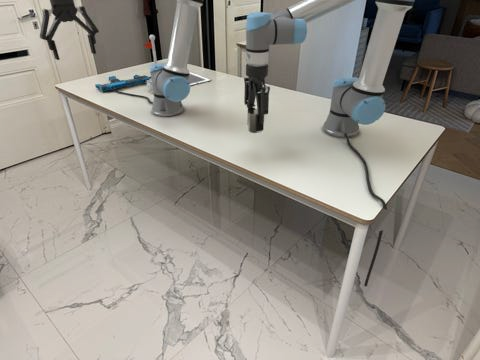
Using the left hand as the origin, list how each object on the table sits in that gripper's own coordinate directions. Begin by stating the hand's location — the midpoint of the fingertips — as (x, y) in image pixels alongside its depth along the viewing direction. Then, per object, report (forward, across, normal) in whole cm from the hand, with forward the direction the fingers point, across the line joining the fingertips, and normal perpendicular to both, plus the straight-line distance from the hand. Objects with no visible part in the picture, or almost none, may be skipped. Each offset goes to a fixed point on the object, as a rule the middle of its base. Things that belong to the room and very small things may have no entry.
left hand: (76, 56), depth 128 cm
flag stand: (+33, +52, +34) cm, 71 cm away
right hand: (+22, +39, -57) cm, 73 cm away
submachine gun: (+33, +43, +60) cm, 81 cm away
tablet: (+33, +76, +45) cm, 94 cm away
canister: (+23, +39, -57) cm, 73 cm away
